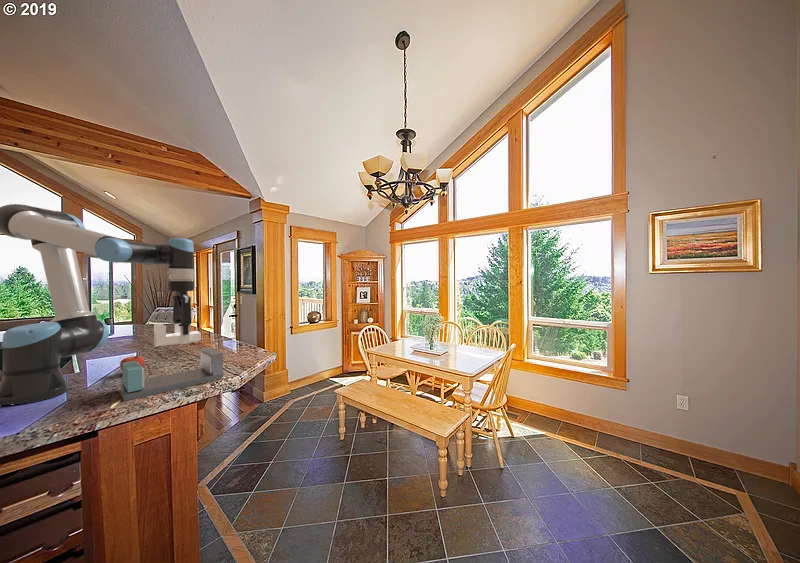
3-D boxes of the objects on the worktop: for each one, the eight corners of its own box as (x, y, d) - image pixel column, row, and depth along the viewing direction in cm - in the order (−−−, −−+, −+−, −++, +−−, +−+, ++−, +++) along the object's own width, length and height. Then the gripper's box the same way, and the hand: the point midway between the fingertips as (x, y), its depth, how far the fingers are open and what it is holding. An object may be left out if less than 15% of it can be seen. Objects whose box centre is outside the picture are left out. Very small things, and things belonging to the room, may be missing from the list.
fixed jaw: (199, 368, 120) (199, 348, 120) (210, 366, 123) (210, 347, 123) (211, 376, 110) (211, 354, 110) (223, 373, 113) (222, 352, 113)
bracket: (156, 348, 101) (156, 326, 101) (154, 345, 106) (153, 324, 106) (201, 342, 111) (201, 322, 110) (196, 339, 116) (196, 320, 115)
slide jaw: (122, 383, 102) (122, 362, 102) (137, 380, 105) (137, 360, 105) (128, 392, 93) (127, 370, 93) (144, 389, 96) (144, 367, 96)
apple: (120, 373, 119) (120, 354, 119) (144, 369, 124) (144, 351, 124) (119, 378, 114) (119, 357, 114) (144, 374, 119) (144, 354, 119)
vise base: (118, 390, 101) (118, 384, 101) (210, 371, 123) (210, 366, 123) (124, 401, 92) (124, 394, 92) (223, 378, 113) (223, 373, 113)
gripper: (162, 280, 113) (163, 339, 113) (176, 280, 100) (176, 347, 100) (186, 280, 119) (186, 337, 119) (201, 280, 105) (202, 344, 105)
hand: (181, 341), depth 109 cm, fingers closed on bracket, 7 cm apart
